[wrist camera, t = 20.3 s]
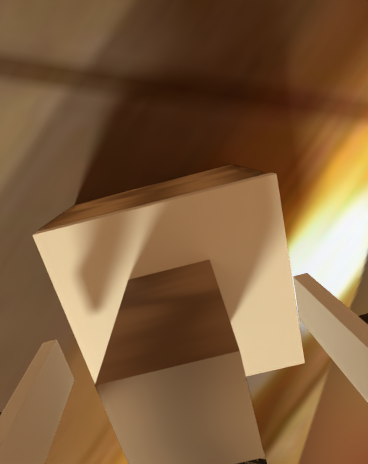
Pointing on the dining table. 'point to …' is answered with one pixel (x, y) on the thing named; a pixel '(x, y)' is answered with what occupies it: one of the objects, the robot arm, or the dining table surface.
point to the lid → (180, 254)
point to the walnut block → (177, 373)
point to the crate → (153, 193)
